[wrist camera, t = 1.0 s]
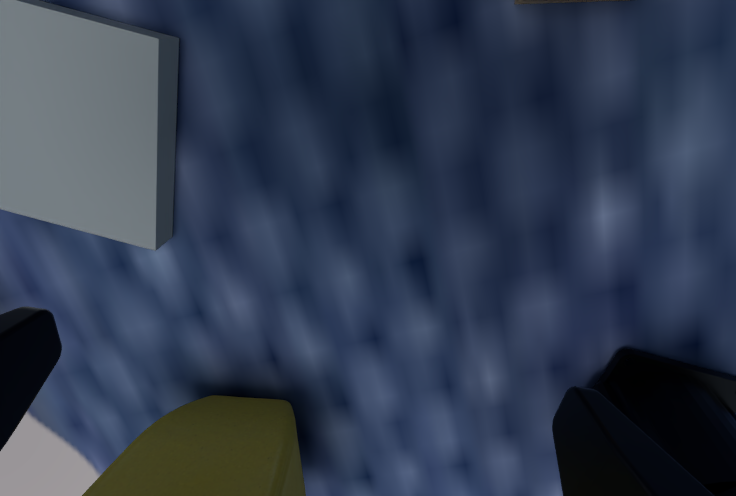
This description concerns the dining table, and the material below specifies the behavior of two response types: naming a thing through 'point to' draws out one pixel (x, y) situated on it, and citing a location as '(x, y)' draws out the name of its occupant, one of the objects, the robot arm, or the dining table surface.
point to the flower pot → (211, 452)
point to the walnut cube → (557, 1)
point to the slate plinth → (87, 122)
